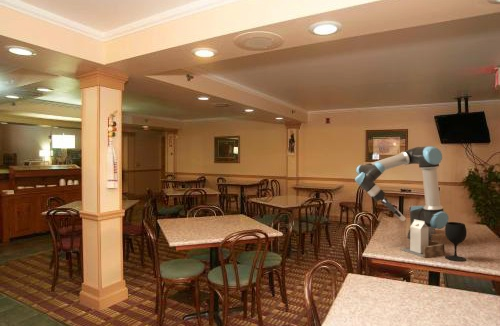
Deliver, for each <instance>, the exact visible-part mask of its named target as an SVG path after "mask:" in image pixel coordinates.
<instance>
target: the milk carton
mask: <svg viewBox="0 0 500 326" xmlns="http://www.w3.org/2000/svg"><path fill="white" fill-rule="evenodd" d="M409 229H410V239H409V241H410V242H409V243H410V244H409V248H410V251H414V252H417V253H423V247H426V246H428V226H427V225H426V224H425V221H420V220H415V219H414V222H413V223H412V225H411V226H409Z"/></svg>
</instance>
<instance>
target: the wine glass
mask: <svg viewBox="0 0 500 326" xmlns="http://www.w3.org/2000/svg"><path fill="white" fill-rule="evenodd" d="M444 234H445V237H446V238H447V240H448V241H449V242H450V243H452V244H453V246H454V247H453V248H454V249H453V250H454V254H453V255H452V254H450V255H449V254H448V255H444V258H445V259H447V260H450V261H451V262H453V261H454V262H458V263H459V262H462V263H463V262H466V261H467V258H465V256H464V257H463V256H460V255H458V254H457V248H458V245H459V244H461V243H463V242H464V241H465V239H466V237H467V226H466V225H465V223H463V222H456V221H448V222H447V223H446V226H445V227H444Z"/></svg>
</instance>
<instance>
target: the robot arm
mask: <svg viewBox="0 0 500 326" xmlns="http://www.w3.org/2000/svg"><path fill="white" fill-rule="evenodd" d="M442 161H443V153H442V151H441V150H440V149H439V148H438V147H436V146H417V147H412V148H409V149H407V150H403V151H401V152H400V153H398V154H396V155H391V156H389V157H386V158H383V159H380V160H376V161H373V162H369V163H367V164H360V165H358V166H357V167H356V170H355V171H356V174H357V175H356V177H355V178H354V181H355V183H356V184H357V185H358V186H360V188H362V189H363V190H364V191H365V193H367V195H369V196H370V197H371V198H372V199H374V201H375V202H379V201H380V202H381V204H383V205H384V206H385V207H386V208H388V209H389V210H390V211H391V212H392V214H393V215H395V216H396V217H397V219H399V220H400V221H401V222H404V221H405V220H407V218H406V217H405V216H404V215H403V214H402V212H400V210H398V209H397V208H396V205H394V204H392V203H391V202H390V201H389V199H388V198H387V197H385V196H386V193H385V191H384V190H383V189H381V187H380V186H379V185H378V184H377V183H375V181H376V180H377V179H378V178H380V176H382V175H383V173H384V172H385V171H387V170H390V169H393V168H397V167H399V166H403V165H405V166H407V165H418V168H419V169H420V170H421V172H422V184H423V193H424V203H425V205H412V206H410V210H409V213H410V215H409V221H410V226H411V225H412V223H413V222H414V219H415V220H420V221H425V224H426V225H427V226H428V240H430V241H433V240H432V239H433V237H432V234H431V233H430V230H429V227H432V228H435V229H436V230H440V229H445V226H446V223H447V222H449V215H448V214H447V213H446V212H445V211H444V210H445V209H444V206H443V205H441V200H440V199H441V197H440V188H439V177H438V168H439V167H440V163H441V162H442ZM410 226H409V227H410ZM407 238H408V239H409V240H410V228H409V230H408V233H407Z"/></svg>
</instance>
